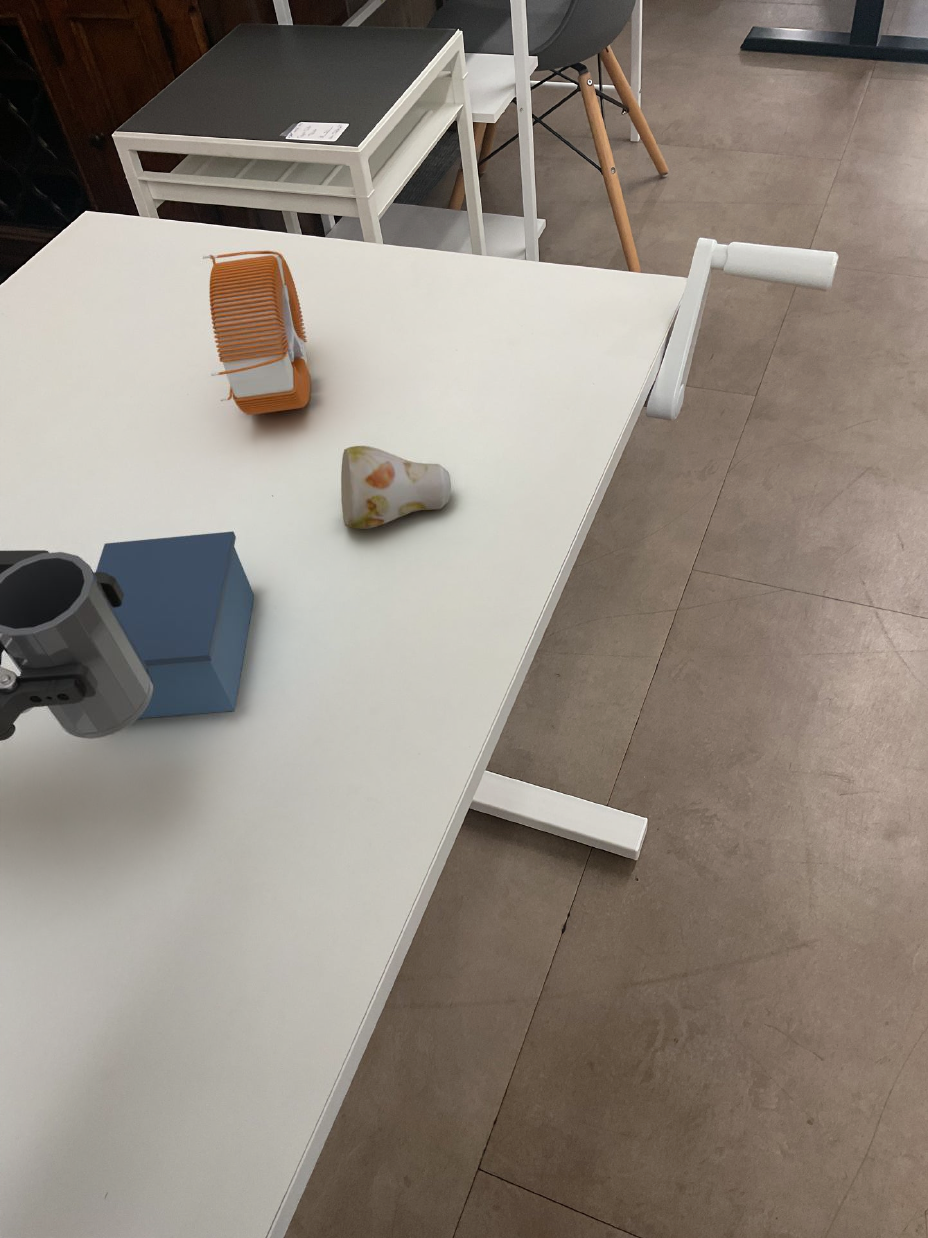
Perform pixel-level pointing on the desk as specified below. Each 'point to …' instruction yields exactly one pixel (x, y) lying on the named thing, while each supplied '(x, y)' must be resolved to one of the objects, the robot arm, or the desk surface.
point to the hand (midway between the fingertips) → (105, 633)
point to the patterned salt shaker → (388, 487)
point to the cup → (73, 640)
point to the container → (184, 617)
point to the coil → (259, 332)
